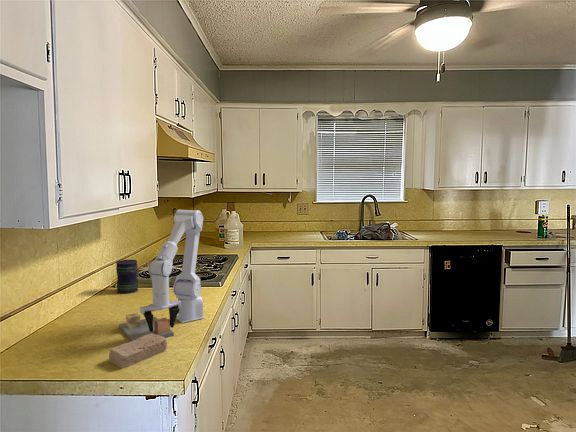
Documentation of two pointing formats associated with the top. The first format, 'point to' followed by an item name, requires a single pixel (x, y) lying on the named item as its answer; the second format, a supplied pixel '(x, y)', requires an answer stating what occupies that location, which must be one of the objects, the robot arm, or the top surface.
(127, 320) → the maple block
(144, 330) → the plate
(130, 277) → the storage jar
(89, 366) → the top surface
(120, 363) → the brick
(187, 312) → the robot arm
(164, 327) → the terracotta block
